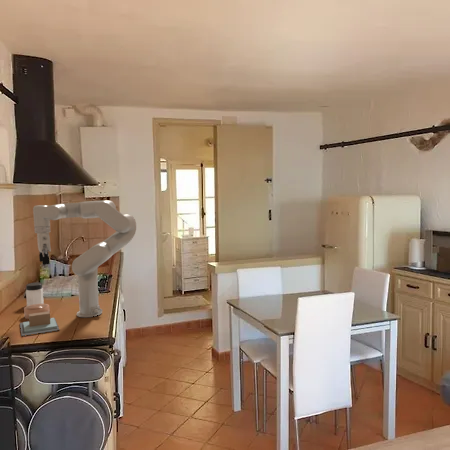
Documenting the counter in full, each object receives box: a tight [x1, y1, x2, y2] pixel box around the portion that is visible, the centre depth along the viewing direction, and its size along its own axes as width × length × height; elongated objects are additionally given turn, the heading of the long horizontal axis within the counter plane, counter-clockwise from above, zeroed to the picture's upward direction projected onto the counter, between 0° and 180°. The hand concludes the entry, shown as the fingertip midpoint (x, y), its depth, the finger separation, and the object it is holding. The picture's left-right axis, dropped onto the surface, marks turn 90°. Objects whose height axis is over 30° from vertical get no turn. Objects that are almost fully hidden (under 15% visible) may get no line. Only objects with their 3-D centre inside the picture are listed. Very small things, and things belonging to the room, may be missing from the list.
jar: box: [25, 281, 45, 306], centre depth 252 cm, size 9×8×12 cm
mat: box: [19, 317, 60, 337], centre depth 215 cm, size 20×16×1 cm
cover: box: [22, 311, 58, 333], centre depth 214 cm, size 14×14×6 cm
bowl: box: [23, 303, 51, 320], centre depth 232 cm, size 12×12×5 cm
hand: (44, 262), depth 231 cm, fingers open, 9 cm apart
